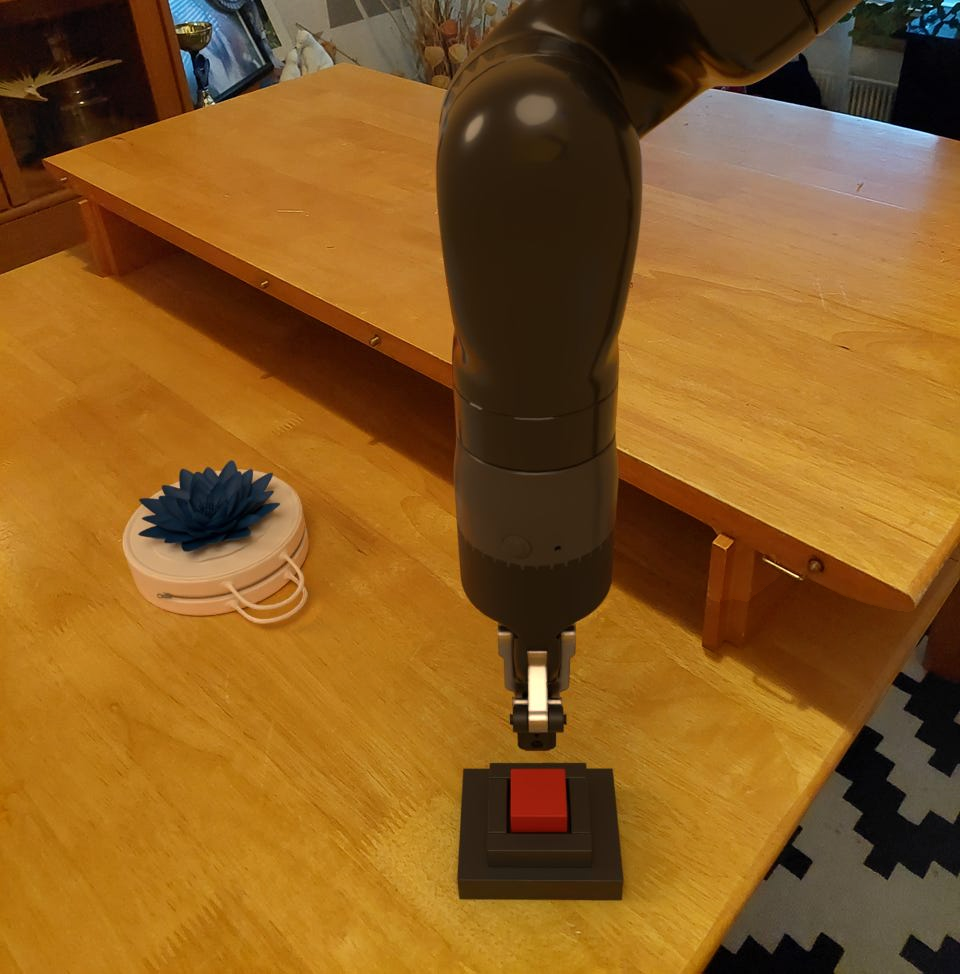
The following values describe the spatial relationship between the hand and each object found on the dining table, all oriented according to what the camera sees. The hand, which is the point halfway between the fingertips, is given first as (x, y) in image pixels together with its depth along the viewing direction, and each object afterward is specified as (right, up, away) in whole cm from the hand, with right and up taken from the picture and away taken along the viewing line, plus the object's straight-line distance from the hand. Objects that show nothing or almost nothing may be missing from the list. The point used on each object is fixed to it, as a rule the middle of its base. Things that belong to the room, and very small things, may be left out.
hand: (536, 739), depth 54 cm
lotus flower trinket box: (-25, +7, +29) cm, 39 cm away
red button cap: (0, -5, +4) cm, 7 cm away
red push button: (0, -8, +6) cm, 10 cm away
